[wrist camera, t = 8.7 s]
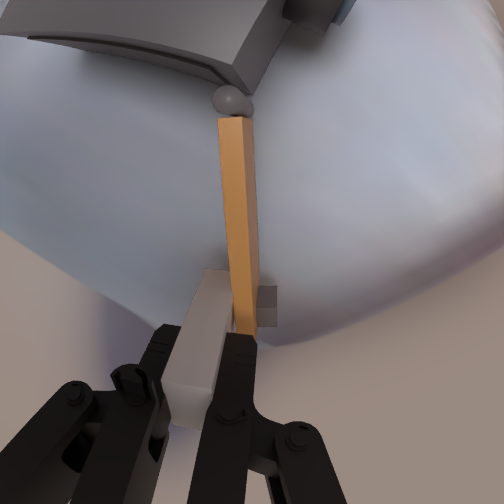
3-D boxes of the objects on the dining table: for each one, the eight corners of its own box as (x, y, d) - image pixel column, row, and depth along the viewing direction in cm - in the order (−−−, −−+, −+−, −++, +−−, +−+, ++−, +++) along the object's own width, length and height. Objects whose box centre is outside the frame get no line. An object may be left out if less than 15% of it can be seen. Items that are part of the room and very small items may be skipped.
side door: (233, 100, 13) (210, 86, 8) (271, 98, 12) (270, 82, 8) (245, 291, 17) (235, 354, 13) (276, 291, 17) (276, 354, 12)
